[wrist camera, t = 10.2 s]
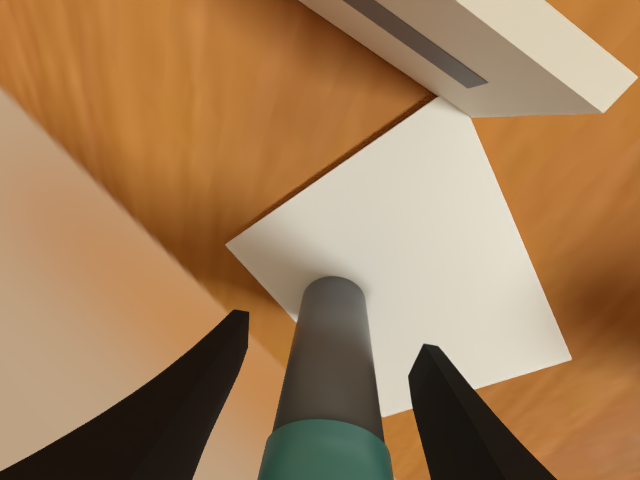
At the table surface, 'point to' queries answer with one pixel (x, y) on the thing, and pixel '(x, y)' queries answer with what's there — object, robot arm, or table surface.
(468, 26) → the plate
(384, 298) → the paper
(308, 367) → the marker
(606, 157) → the table surface
